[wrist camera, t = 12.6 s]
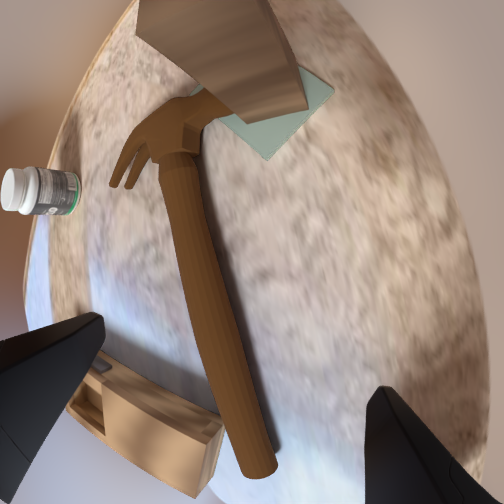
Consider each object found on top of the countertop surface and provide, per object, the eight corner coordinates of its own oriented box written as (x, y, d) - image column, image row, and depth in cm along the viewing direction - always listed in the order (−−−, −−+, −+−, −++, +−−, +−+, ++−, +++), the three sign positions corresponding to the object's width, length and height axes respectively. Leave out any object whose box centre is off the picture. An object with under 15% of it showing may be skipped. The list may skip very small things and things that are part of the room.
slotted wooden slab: (228, 416, 22) (206, 442, 18) (213, 475, 23) (195, 499, 19) (85, 336, 28) (57, 345, 24) (88, 399, 29) (66, 411, 25)
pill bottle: (57, 211, 28) (-3, 209, 20) (64, 171, 27) (4, 162, 20) (77, 219, 27) (10, 218, 19) (86, 174, 26) (18, 164, 18)
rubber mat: (334, 92, 17) (333, 89, 17) (267, 161, 19) (265, 159, 19) (248, 38, 19) (246, 35, 19) (191, 96, 21) (189, 95, 21)
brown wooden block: (309, 109, 18) (244, -15, 7) (247, 124, 19) (135, 34, 8) (295, 59, 18) (230, -61, 6) (239, 75, 19) (143, -21, 8)
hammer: (316, 459, 19) (237, 86, 19) (306, 484, 16) (216, 68, 16) (199, 447, 24) (127, 144, 24) (182, 465, 21) (101, 137, 21)
